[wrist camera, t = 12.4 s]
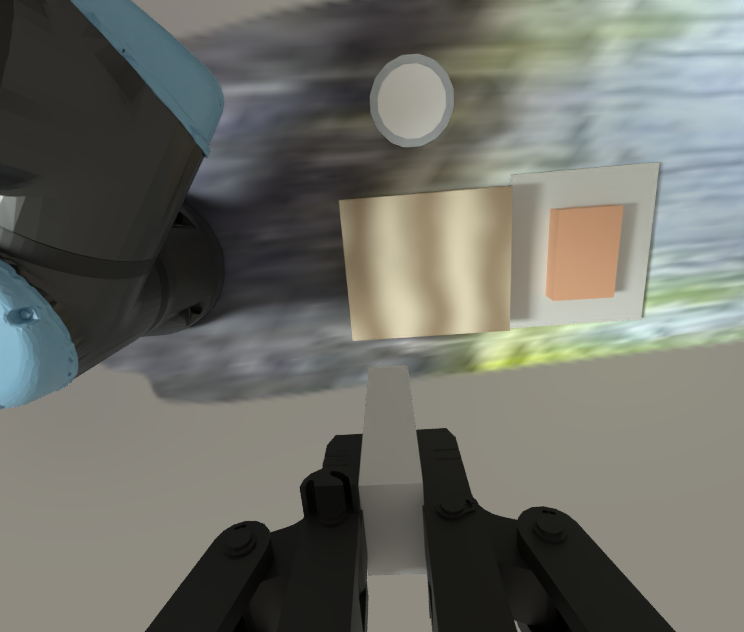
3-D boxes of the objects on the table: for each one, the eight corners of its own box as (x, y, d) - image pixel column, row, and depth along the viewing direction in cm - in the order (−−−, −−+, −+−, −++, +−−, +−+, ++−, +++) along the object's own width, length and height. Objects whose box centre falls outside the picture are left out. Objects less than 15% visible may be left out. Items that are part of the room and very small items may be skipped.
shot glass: (367, 149, 41) (364, 141, 34) (376, 71, 39) (375, 46, 32) (436, 158, 41) (446, 152, 34) (449, 81, 39) (462, 59, 32)
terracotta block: (613, 297, 42) (602, 292, 44) (623, 205, 39) (611, 204, 41) (553, 300, 42) (545, 295, 44) (559, 209, 39) (550, 208, 41)
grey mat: (508, 326, 46) (509, 328, 45) (510, 174, 41) (512, 174, 40) (637, 317, 45) (641, 319, 44) (655, 162, 40) (659, 162, 40)
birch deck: (355, 328, 46) (352, 340, 43) (342, 199, 42) (338, 200, 38) (499, 318, 46) (509, 330, 42) (500, 186, 41) (512, 186, 38)
